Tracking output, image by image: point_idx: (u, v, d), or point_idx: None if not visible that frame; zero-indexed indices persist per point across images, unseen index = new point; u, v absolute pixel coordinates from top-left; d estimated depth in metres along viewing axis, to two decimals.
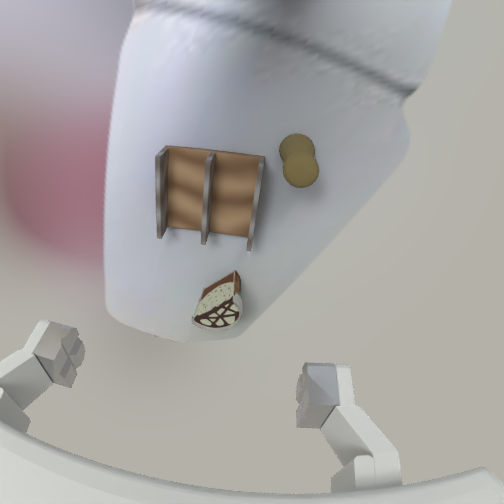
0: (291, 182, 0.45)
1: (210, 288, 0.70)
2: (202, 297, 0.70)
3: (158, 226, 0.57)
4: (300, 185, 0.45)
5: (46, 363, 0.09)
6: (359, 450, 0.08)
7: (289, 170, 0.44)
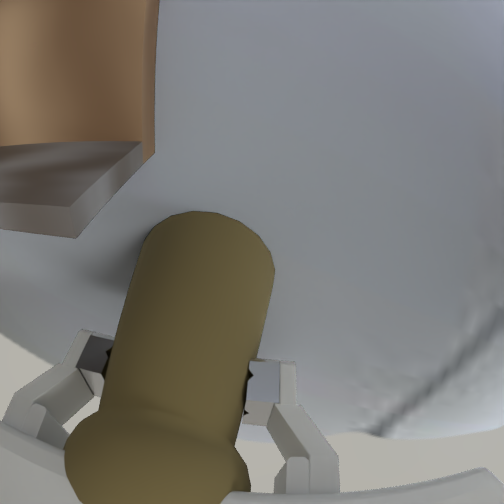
0: None
1: None
2: None
3: None
4: None
5: (90, 377, 0.09)
6: (298, 451, 0.08)
7: None
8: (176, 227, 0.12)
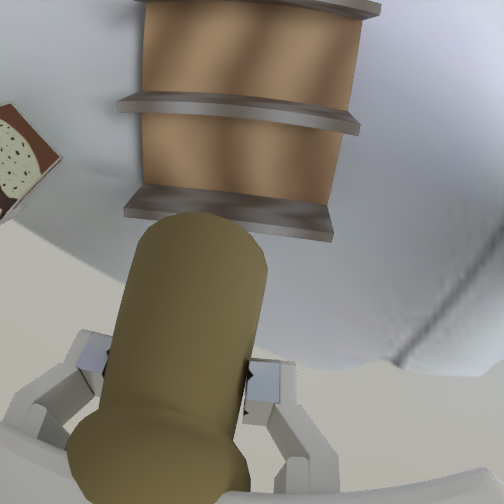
0: None
1: (14, 120, 0.23)
2: None
3: None
4: None
5: (91, 377, 0.09)
6: (298, 451, 0.08)
7: None
8: (170, 228, 0.12)
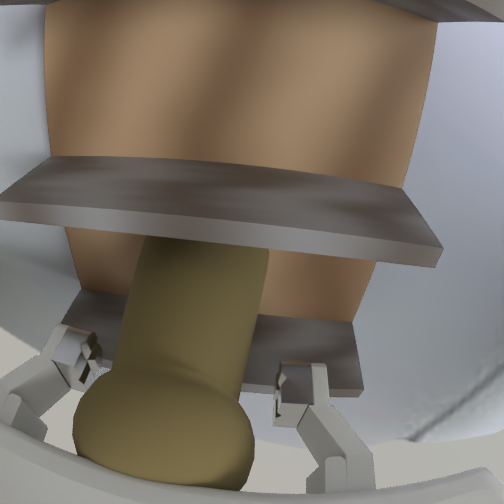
0: None
1: None
2: None
3: None
4: None
5: (65, 369, 0.09)
6: (333, 451, 0.08)
7: (151, 476, 0.06)
8: None
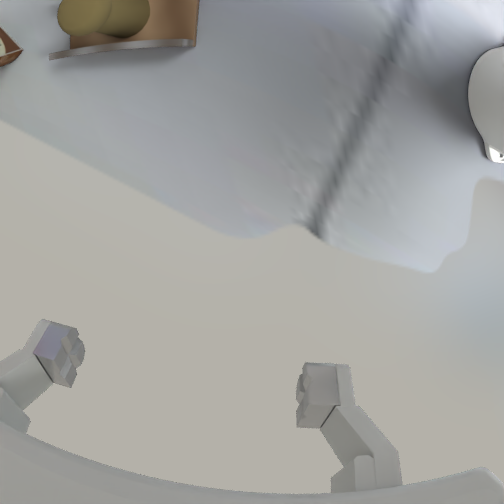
0: (62, 1, 0.17)
1: None
2: None
3: None
4: (59, 14, 0.18)
5: (46, 363, 0.09)
6: (359, 450, 0.08)
7: None
8: None
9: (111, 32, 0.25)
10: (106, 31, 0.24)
